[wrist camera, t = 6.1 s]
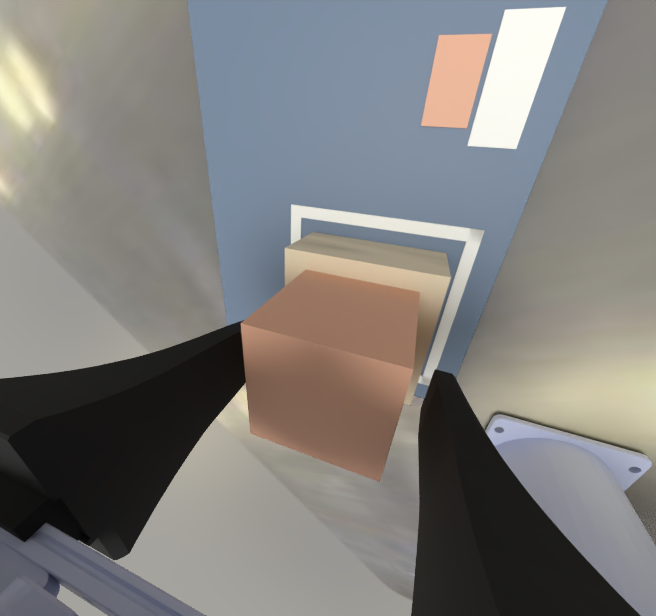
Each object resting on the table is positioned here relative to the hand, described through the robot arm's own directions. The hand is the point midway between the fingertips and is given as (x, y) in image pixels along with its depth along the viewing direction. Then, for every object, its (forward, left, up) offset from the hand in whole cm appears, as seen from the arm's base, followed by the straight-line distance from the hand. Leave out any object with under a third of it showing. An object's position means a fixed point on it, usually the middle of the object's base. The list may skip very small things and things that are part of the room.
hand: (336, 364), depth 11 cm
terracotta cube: (0, 0, -2) cm, 3 cm away
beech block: (0, 0, -6) cm, 6 cm away
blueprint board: (+4, +2, -7) cm, 8 cm away
